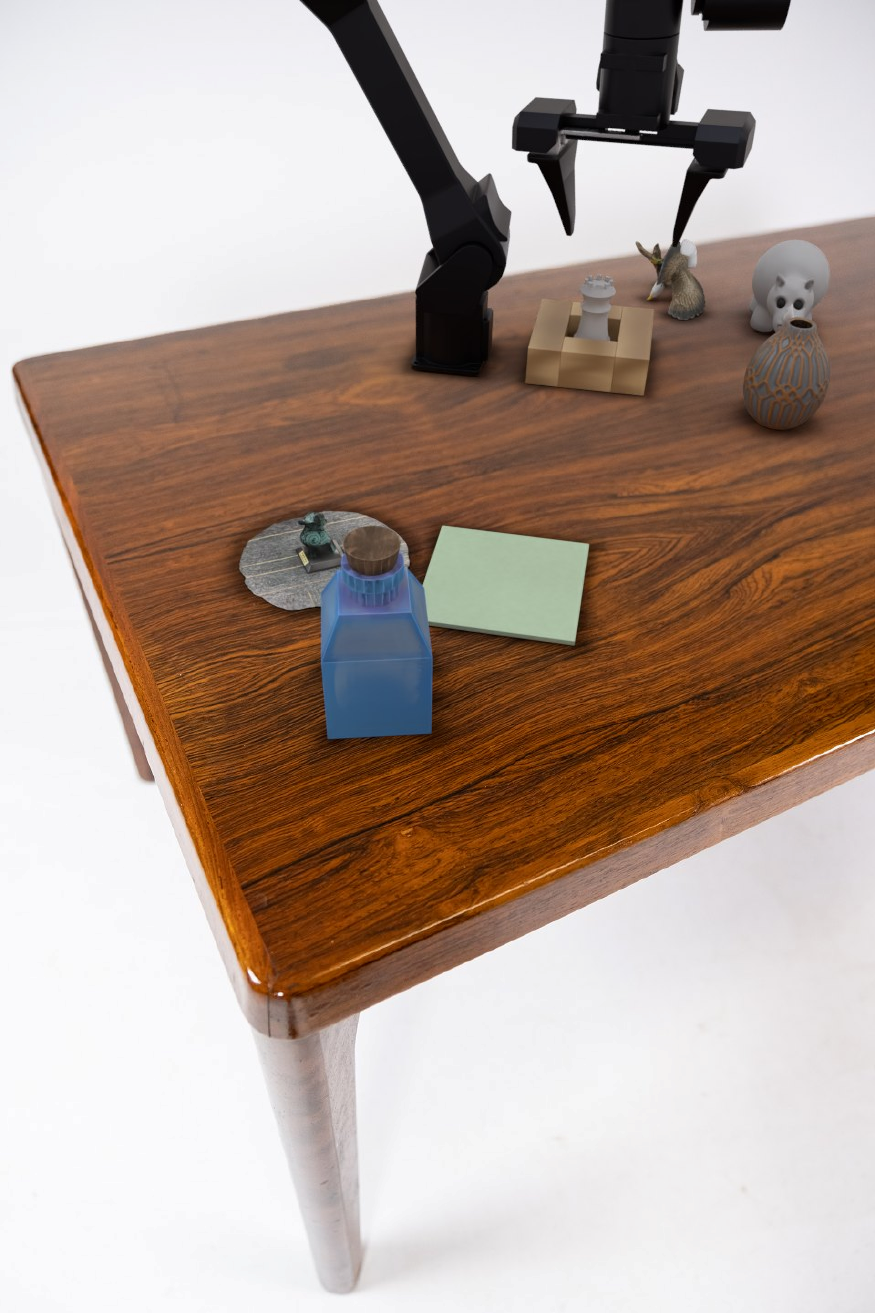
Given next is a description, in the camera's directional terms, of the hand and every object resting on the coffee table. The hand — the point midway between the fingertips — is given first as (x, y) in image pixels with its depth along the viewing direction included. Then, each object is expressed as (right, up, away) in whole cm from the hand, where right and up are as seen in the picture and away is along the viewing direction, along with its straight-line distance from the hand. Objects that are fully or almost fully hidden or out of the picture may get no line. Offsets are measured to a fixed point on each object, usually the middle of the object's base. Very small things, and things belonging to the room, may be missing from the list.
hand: (621, 239), depth 87 cm
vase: (+14, -15, +2) cm, 21 cm away
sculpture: (-24, -29, -14) cm, 40 cm away
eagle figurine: (+8, +1, +20) cm, 21 cm away
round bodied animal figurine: (+18, -4, +14) cm, 23 cm away
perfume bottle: (-20, -39, -25) cm, 50 cm away
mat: (-11, -31, -16) cm, 37 cm away
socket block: (-2, -8, +9) cm, 12 cm away
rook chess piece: (-2, -8, +9) cm, 12 cm away
